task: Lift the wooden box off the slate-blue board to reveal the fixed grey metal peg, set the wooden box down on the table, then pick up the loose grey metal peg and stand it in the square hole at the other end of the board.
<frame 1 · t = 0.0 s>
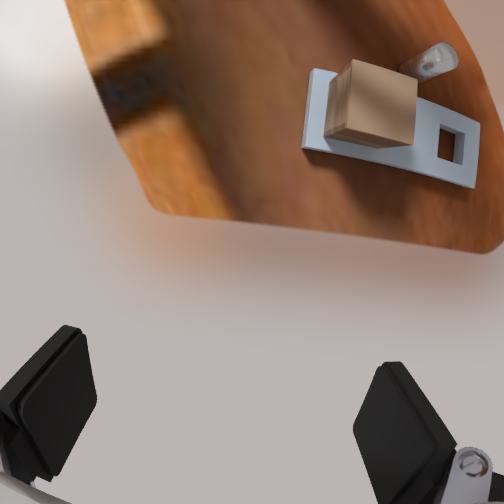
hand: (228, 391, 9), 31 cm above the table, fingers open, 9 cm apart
wooden box: (354, 115, 33), point 2 cm above the table, touching board
peg: (408, 74, 33), on the table
board: (399, 131, 36), on the table
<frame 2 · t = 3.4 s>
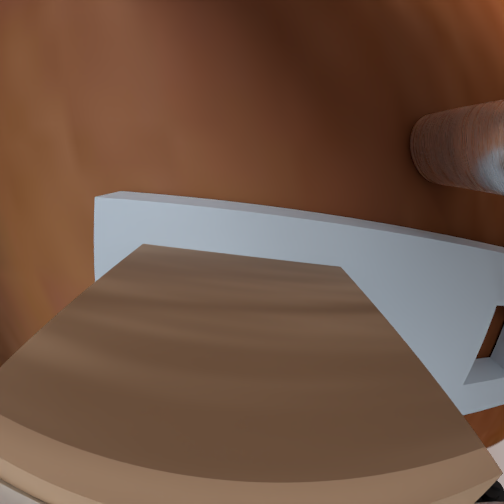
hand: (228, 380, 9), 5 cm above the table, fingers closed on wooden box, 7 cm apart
wooden box: (231, 343, 12), point 3 cm above the table, touching board, gripper
peg: (438, 148, 12), on the table
board: (384, 325, 14), on the table
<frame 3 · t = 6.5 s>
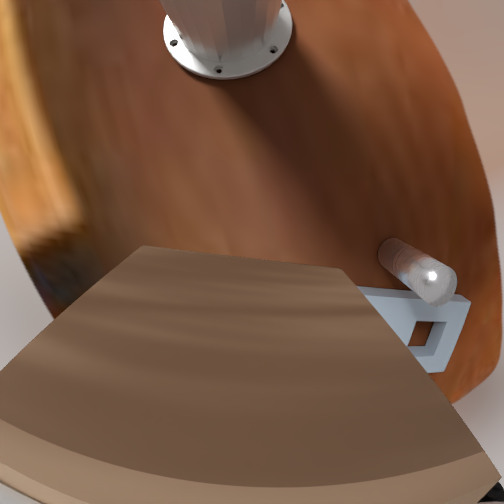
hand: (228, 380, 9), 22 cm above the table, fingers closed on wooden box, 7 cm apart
wooden box: (231, 345, 11), point 19 cm above the table, touching gripper
peg: (391, 253, 31), on the table
board: (364, 328, 33), on the table
when the fingers open (3 cm above the table, at t = 9.6 s): wooden box drops 1 cm, on the table.
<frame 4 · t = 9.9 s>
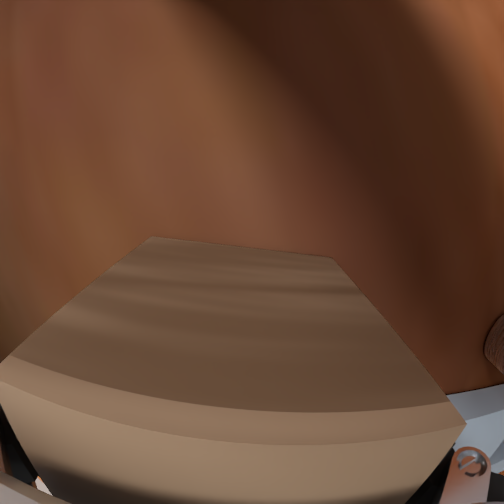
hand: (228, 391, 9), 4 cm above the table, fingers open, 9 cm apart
wooden box: (231, 328, 13), on the table
peg: (503, 335, 13), on the table
board: (436, 444, 16), on the table
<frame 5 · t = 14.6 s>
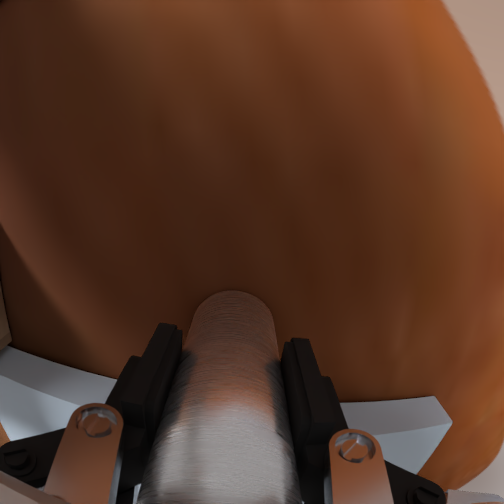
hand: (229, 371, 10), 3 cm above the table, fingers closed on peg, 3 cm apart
peg: (233, 327, 13), on the table, touching gripper
board: (202, 453, 15), on the table
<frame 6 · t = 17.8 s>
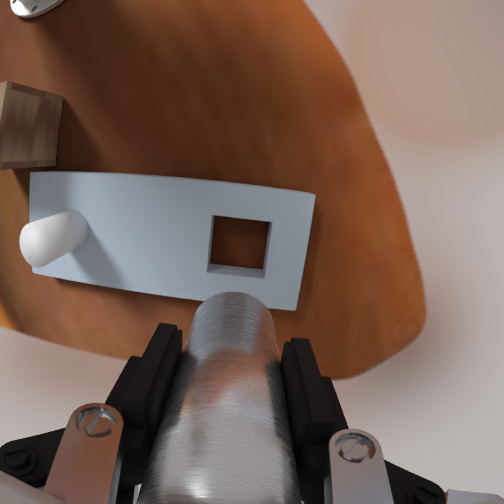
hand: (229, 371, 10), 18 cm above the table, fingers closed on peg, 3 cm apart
wooden box: (34, 132, 24), on the table
peg: (233, 328, 13), point 15 cm above the table, touching gripper
board: (156, 231, 27), on the table
when the fingers open (4 cm above the table, at t = 21.2 s): peg stays where it is, resting in board.
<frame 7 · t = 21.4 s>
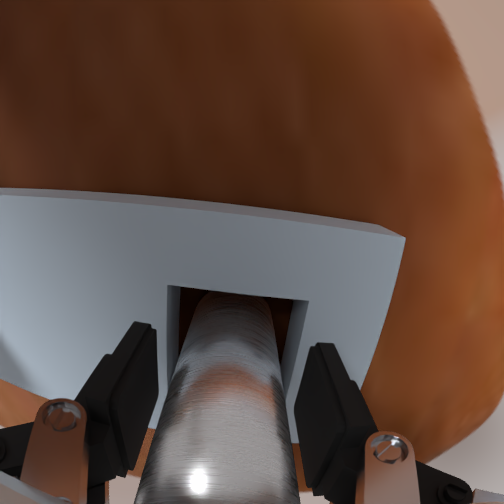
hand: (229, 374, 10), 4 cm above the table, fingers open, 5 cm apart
peg: (232, 321, 13), resting in board
board: (78, 297, 13), on the table
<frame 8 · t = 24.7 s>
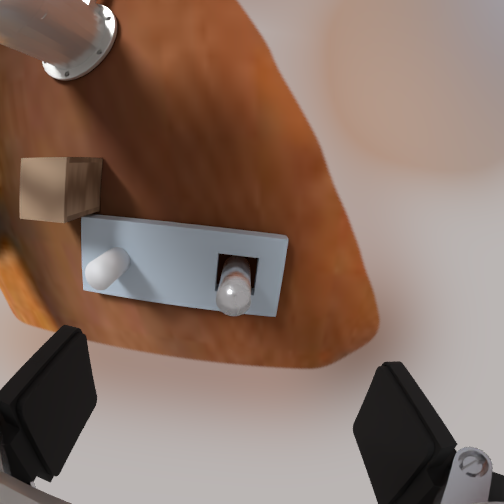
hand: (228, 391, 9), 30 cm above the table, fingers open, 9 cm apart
wooden box: (79, 183, 36), on the table
peg: (236, 268, 40), resting in board
board: (178, 261, 39), on the table
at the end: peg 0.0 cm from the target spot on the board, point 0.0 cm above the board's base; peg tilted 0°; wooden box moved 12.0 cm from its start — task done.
